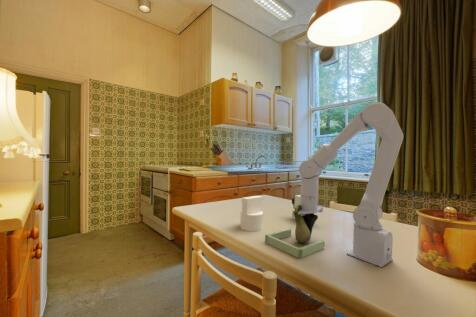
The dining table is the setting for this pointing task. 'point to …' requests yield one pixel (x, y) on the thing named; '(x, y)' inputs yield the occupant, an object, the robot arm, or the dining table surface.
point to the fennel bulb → (301, 227)
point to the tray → (293, 250)
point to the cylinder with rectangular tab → (252, 213)
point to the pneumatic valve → (296, 201)
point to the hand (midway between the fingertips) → (307, 235)
